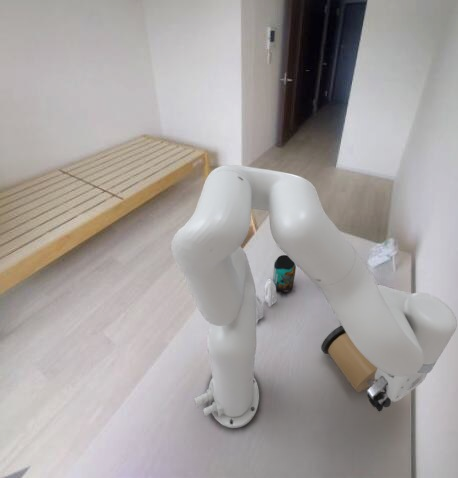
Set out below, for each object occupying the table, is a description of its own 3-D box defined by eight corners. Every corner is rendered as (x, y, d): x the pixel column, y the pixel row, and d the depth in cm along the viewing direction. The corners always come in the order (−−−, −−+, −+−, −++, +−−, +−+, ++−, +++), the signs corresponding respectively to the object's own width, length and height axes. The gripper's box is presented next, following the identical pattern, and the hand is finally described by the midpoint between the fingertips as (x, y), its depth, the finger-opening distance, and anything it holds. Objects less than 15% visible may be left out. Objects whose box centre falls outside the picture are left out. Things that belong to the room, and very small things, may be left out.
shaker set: (270, 291, 92) (272, 269, 87) (280, 299, 90) (283, 276, 84) (246, 315, 85) (247, 291, 80) (256, 324, 82) (258, 301, 77)
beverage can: (291, 297, 90) (295, 272, 84) (270, 291, 92) (273, 267, 87) (294, 280, 96) (297, 256, 90) (274, 275, 98) (276, 251, 92)
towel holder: (368, 428, 61) (379, 407, 56) (318, 356, 74) (324, 334, 69) (398, 404, 64) (411, 383, 60) (345, 340, 78) (352, 318, 73)
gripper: (399, 393, 46) (376, 434, 54) (460, 346, 52) (432, 390, 60) (362, 350, 52) (347, 393, 60) (422, 313, 58) (400, 356, 66)
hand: (389, 391), depth 60 cm, fingers open, 9 cm apart
